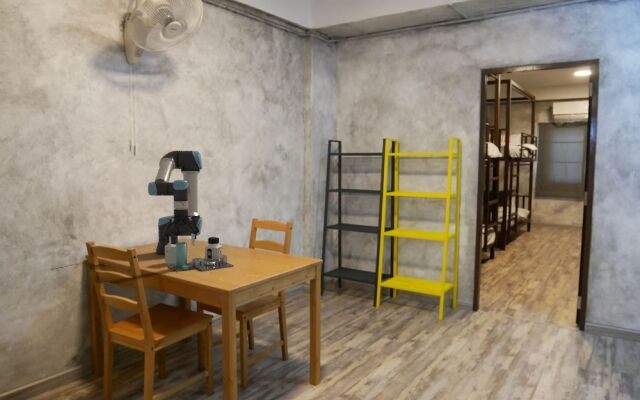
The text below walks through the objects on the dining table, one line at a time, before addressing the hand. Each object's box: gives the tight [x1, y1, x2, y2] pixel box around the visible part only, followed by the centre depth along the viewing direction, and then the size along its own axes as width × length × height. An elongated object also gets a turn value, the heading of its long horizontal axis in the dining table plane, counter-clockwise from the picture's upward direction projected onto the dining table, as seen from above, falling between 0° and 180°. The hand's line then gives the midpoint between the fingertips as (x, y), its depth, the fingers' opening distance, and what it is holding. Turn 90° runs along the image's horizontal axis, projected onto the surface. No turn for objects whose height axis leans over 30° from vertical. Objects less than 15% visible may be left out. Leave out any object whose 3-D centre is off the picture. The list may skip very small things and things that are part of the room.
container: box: [204, 236, 223, 261], centre depth 274 cm, size 8×8×13 cm
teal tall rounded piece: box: [174, 241, 188, 271], centre depth 249 cm, size 6×12×14 cm, turn 40°
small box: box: [164, 244, 176, 266], centre depth 260 cm, size 8×6×10 cm
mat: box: [167, 264, 197, 273], centre depth 250 cm, size 11×11×1 cm
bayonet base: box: [187, 253, 234, 272], centre depth 256 cm, size 19×19×5 cm
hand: (181, 247), depth 249 cm, fingers open, 13 cm apart
